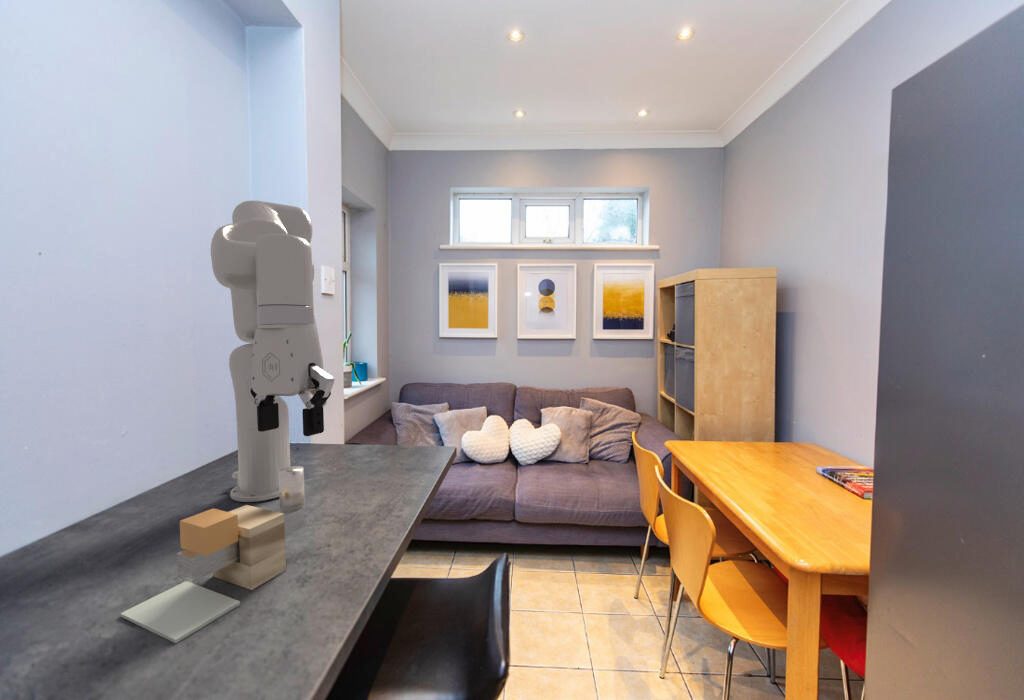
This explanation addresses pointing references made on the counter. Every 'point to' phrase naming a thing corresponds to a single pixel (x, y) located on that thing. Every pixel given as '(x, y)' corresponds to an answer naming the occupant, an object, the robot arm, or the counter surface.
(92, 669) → the counter surface
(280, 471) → the shaft
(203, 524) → the block
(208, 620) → the pad
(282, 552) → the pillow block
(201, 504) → the counter surface
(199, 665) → the counter surface
